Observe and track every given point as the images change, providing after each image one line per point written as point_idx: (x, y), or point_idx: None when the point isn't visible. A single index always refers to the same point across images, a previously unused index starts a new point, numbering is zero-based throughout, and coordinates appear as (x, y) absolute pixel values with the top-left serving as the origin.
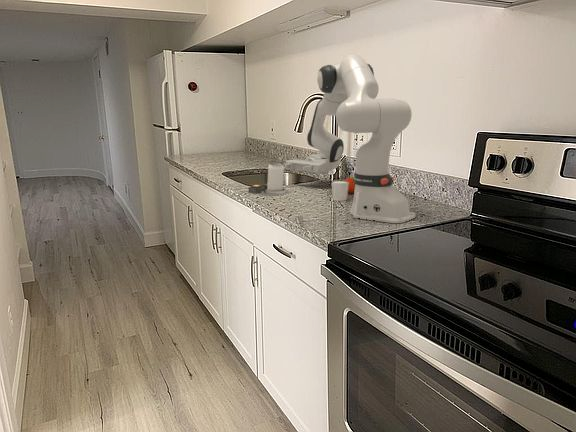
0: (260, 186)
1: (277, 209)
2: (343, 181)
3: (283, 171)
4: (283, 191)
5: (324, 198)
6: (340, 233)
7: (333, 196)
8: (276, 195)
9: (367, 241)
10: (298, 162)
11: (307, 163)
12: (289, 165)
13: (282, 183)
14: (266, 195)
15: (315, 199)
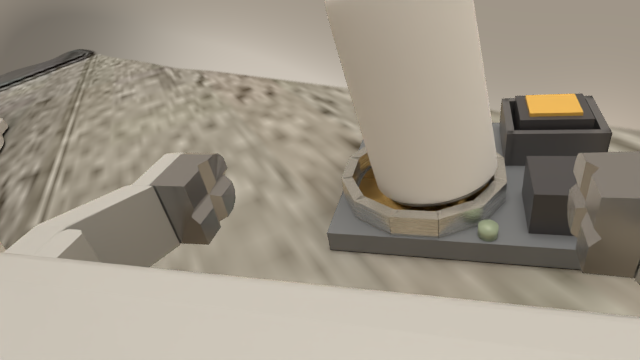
0: (518, 113)
1: (261, 90)
2: None
3: (334, 36)
4: (346, 171)
5: None
6: (72, 73)
7: (2, 245)
8: (360, 147)
9: (30, 73)
10: (448, 300)
11: (85, 266)
12: (592, 199)
13: (362, 135)
14: None
15: None
